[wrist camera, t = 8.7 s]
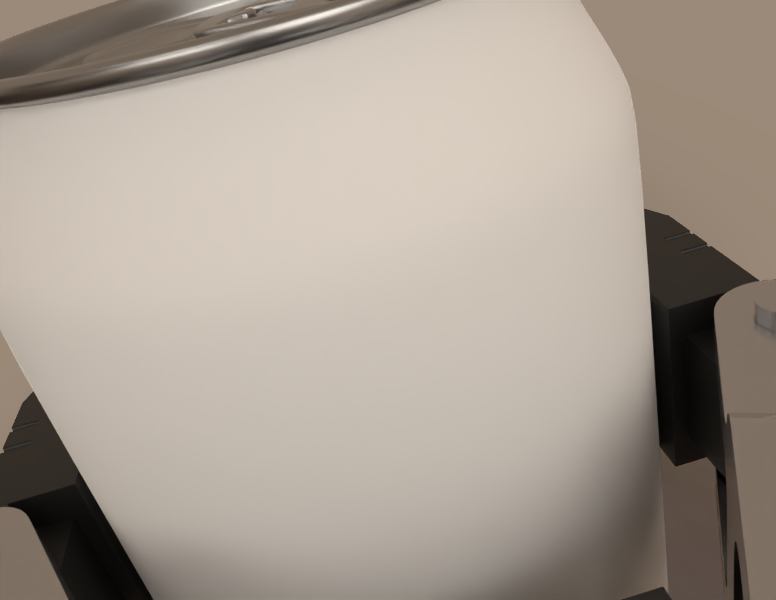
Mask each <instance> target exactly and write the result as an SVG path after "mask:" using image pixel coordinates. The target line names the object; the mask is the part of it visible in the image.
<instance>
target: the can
mask: <svg viewBox="0 0 776 600" xmlns="http://www.w3.org/2000/svg"><path fill="white" fill-rule="evenodd" d="M0 331H1V333H2V335H3V337H4V338H5V340H6V342H7V344H8V346H9V348H10V350H11V352H12V353H13V355H14V357H15V359H16V361H17V363H18V365H19V366H20V368H21V370H22V372H23V373H24V375H25V377H26V379H27V380H28V382H29V384H30V386H31V388H32V389H33V391H34V393H35V395H36V396H37V398H38V400H39V402H40V403H41V405H42V407H43V409H44V410H45V412H46V414H47V416H48V418H49V419H50V421H51V423H52V425H53V426H54V428H55V430H56V432H57V433H58V435H59V437H60V439H61V440H62V442H63V444H64V446H65V447H66V449H67V451H68V453H69V454H70V456H71V458H72V460H73V461H74V463H75V465H76V467H77V468H78V470H79V472H80V473H81V475H82V477H83V479H84V480H85V482H86V484H87V486H88V487H89V489H90V491H91V493H92V494H93V496H94V498H95V499H96V501H97V503H98V505H99V506H100V508H101V510H102V512H103V513H104V515H105V517H106V519H107V520H108V522H109V524H110V525H111V527H112V529H113V531H114V532H115V534H116V536H117V538H118V539H119V541H120V543H121V545H122V546H123V548H124V550H125V551H126V553H127V555H128V557H129V558H130V560H131V562H132V564H133V565H134V567H135V569H136V570H137V572H138V574H139V576H140V577H141V579H142V581H143V583H144V584H145V586H146V588H147V589H148V591H149V593H150V595H151V596H152V598H153V600H621V599H625V598H628V597H631V596H634V595H637V594H640V593H644V592H647V591H650V590H653V589H656V588H659V587H664V588H665V590H666V592H667V593H668V579H667V562H666V545H665V528H664V511H663V495H662V479H661V463H660V447H659V430H658V414H657V398H656V383H655V367H654V352H653V337H652V321H651V306H650V291H649V275H648V261H647V247H646V233H645V220H644V206H643V192H642V179H641V168H640V158H639V148H638V138H637V127H636V119H635V114H634V109H633V103H632V98H631V92H630V89H629V85H628V83H627V81H626V79H625V76H624V74H623V72H622V70H621V68H620V66H619V64H618V62H617V61H616V59H615V57H614V55H613V53H612V51H611V50H610V48H609V46H608V45H607V43H606V42H605V40H604V38H603V37H602V35H601V33H600V32H599V31H598V29H597V27H596V25H595V24H594V23H593V21H592V19H591V18H590V16H589V15H588V13H587V11H586V10H585V8H584V6H583V5H582V3H581V2H580V0H118V1H115V2H112V3H109V4H105V5H103V6H99V7H96V8H93V9H90V10H87V11H84V12H81V13H78V14H75V15H72V16H69V17H66V18H63V19H60V20H57V21H55V22H52V23H49V24H46V25H43V26H40V27H37V28H35V29H32V30H29V31H27V32H24V33H21V34H19V35H16V36H13V37H11V38H8V39H6V40H3V41H0Z"/></svg>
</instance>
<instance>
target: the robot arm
mask: <svg viewBox="0 0 776 600" xmlns="http://www.w3.org/2000/svg"><path fill="white" fill-rule="evenodd" d="M644 220H645V233H646V247H647V261H648V275H649V291H650V306H651V321H652V337H653V352H654V367H655V383H656V398H657V414H658V430H659V446H660V447H661V448H662V450H663V451H664V452H665V454H666V455H667V456H668V457H669V459H670V460H671V461H672V463H673V464H674V465H675V466H679V465H682V464H686V463H689V462H692V461H695V460H699V459H702V458H705V457H707V458H708V459H709V460H710V461H711V462H712V464H713V465H714V466H715V468H716V501H717V513H718V526H719V539H720V551H721V564H722V577H723V589H724V600H776V279H773V280H762V281H759V280H758V279H756V278H755V277H754V276H752V275H751V274H749V273H748V272H747V271H745V270H744V269H742V268H741V267H739V266H738V265H737V264H736V263H734V262H733V261H731V260H730V259H729V258H727V257H726V256H724V255H723V254H722V253H720V252H719V251H717V250H716V249H715V248H713V247H712V246H710V247H708V246H707V243H706V242H705V241H703V240H702V239H701V238H699V237H698V236H696V235H695V234H690V231H689V230H688V229H687V228H685V227H684V226H683V225H681V224H680V223H678V222H677V221H676V220H674V219H673V218H671V217H670V216H668V215H664V214H661V213H657V212H654V211H650V210H647V209H644ZM12 429H13V432H10V433H9V436H8V438H7V440H6V442H5V445H4V447H3V449H4V453H1V454H0V600H153V598H152V596H151V595H150V593H149V591H148V589H147V588H146V586H145V584H144V583H143V581H142V579H141V577H140V576H139V574H138V572H137V570H136V569H135V567H134V565H133V564H132V562H131V560H130V558H129V557H128V555H127V553H126V551H125V550H124V548H123V546H122V545H121V543H120V541H119V539H118V538H117V536H116V534H115V532H114V531H113V529H112V527H111V525H110V524H109V522H108V520H107V519H106V517H105V515H104V513H103V512H102V510H101V508H100V506H99V505H98V503H97V501H96V499H95V498H94V496H93V494H92V493H91V491H90V489H89V487H88V486H87V484H86V482H85V480H84V479H83V477H82V475H81V473H80V472H79V470H78V468H77V467H76V465H75V463H74V461H73V460H72V458H71V456H70V454H69V453H68V451H67V449H66V447H65V446H64V444H63V442H62V440H61V439H60V437H59V435H58V433H57V432H56V430H55V428H54V426H53V425H52V423H51V421H50V419H49V418H48V416H47V414H46V412H45V410H44V409H43V407H42V405H41V403H40V402H39V400H38V398H37V396H36V395H35V393H34V391H33V393H32V394H31V395H30V396H29V397H28V398H27V399H26V400H25V401H24V402H23V403H22V405H21V408H20V410H19V412H18V415H17V417H16V419H15V422H14V424H13V426H12ZM621 600H671V598H670V596H669V595H668V593H667V592H666V590H665V588H664V587H659V588H656V589H653V590H650V591H647V592H644V593H640V594H637V595H634V596H631V597H628V598H625V599H621Z"/></svg>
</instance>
